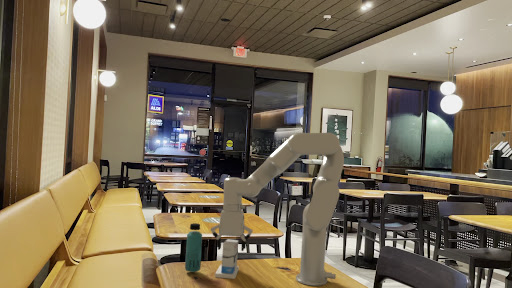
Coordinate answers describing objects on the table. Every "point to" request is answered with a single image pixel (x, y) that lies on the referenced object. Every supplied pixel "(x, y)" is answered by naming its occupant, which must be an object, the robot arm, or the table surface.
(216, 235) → the robot arm
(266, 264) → the table surface
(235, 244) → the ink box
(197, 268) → the beverage bottle
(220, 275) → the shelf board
